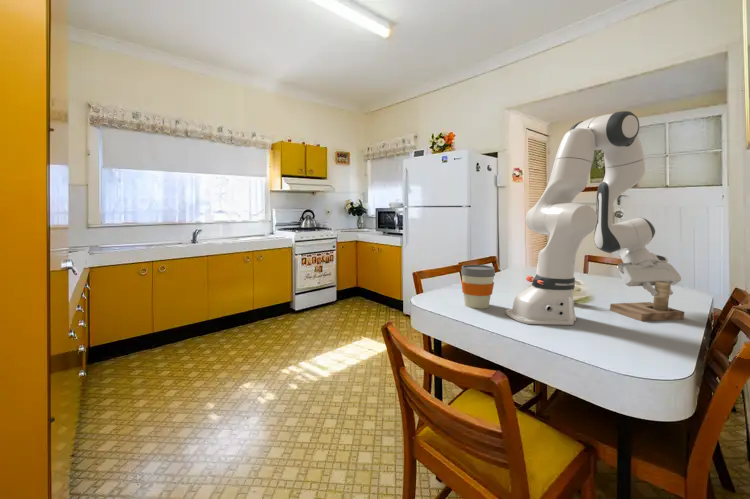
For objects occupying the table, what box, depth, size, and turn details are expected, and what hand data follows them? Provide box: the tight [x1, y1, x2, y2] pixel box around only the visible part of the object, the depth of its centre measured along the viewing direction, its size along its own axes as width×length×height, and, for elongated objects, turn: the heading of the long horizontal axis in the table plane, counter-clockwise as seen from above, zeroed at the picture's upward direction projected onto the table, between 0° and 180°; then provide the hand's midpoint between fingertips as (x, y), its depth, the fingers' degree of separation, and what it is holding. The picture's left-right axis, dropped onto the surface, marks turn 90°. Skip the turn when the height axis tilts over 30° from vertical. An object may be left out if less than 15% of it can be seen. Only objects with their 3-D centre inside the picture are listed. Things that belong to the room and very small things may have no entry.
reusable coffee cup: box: [460, 264, 496, 309], centre depth 130 cm, size 13×13×15 cm
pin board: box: [609, 301, 685, 322], centre depth 119 cm, size 16×12×2 cm
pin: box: [652, 282, 672, 311], centre depth 117 cm, size 4×4×10 cm
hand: (663, 294), depth 117 cm, fingers closed on pin, 4 cm apart
